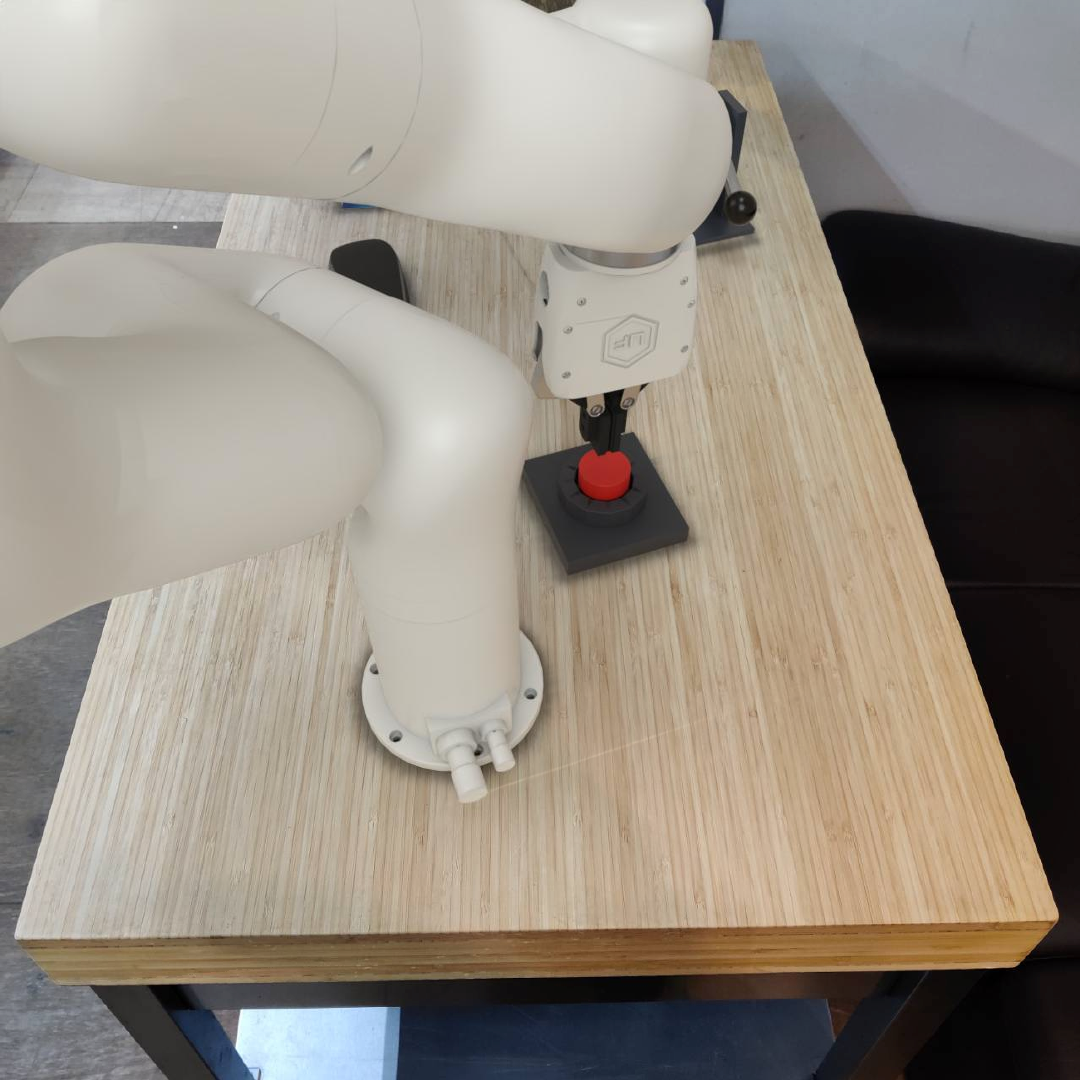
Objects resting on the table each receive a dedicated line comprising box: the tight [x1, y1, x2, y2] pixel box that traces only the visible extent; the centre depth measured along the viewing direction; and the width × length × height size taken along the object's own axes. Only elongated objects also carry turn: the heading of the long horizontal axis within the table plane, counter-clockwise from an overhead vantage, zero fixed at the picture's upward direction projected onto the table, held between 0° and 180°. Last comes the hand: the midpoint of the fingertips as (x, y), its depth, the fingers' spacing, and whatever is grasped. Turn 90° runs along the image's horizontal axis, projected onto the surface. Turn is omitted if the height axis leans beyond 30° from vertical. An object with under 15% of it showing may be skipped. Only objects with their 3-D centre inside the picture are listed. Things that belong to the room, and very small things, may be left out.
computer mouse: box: [328, 238, 411, 304], centre depth 95 cm, size 7×12×4 cm, turn 22°
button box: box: [521, 431, 690, 576], centre depth 78 cm, size 11×10×4 cm
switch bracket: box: [692, 89, 756, 247], centre depth 98 cm, size 10×8×13 cm
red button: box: [578, 450, 631, 501], centre depth 76 cm, size 4×4×2 cm
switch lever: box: [723, 159, 758, 226], centre depth 94 cm, size 12×3×3 cm, turn 20°
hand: (600, 440), depth 72 cm, fingers closed
